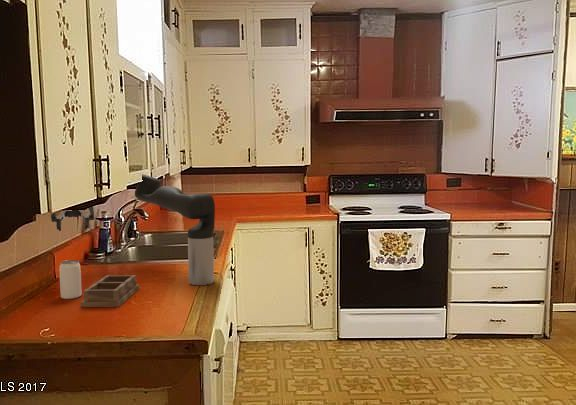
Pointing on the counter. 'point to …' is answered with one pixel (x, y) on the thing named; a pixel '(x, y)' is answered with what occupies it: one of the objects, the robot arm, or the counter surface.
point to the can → (70, 279)
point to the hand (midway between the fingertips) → (72, 228)
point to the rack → (110, 291)
